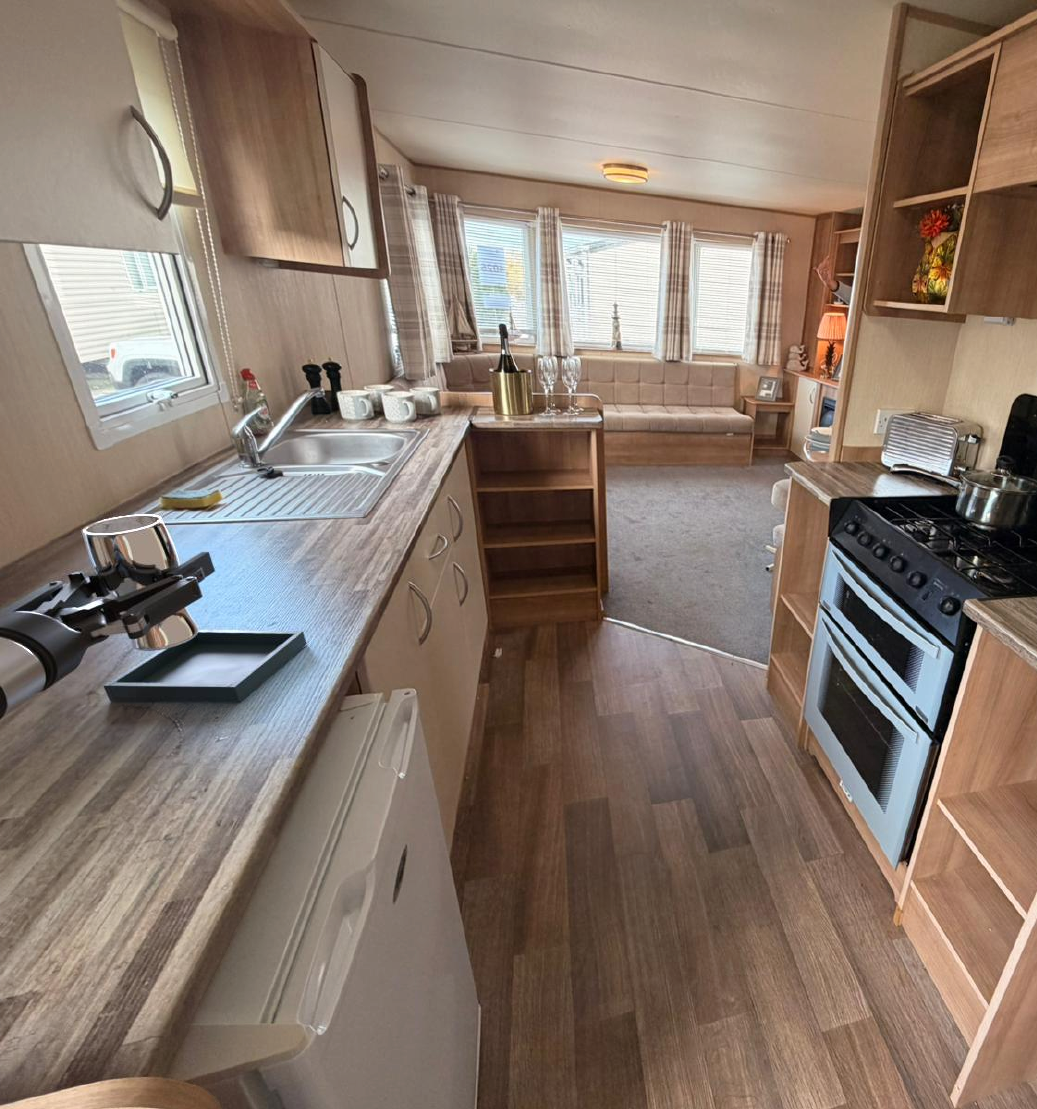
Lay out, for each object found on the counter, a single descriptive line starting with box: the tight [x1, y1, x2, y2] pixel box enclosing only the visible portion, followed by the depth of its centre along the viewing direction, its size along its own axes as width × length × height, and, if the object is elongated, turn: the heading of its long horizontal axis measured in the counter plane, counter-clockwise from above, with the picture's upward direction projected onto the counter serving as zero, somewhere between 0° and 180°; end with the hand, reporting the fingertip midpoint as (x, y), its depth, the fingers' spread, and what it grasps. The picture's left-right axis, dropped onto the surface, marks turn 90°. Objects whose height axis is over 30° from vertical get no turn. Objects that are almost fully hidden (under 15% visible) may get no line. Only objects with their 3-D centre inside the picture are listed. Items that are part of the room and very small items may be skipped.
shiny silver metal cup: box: [81, 514, 200, 652], centre depth 69 cm, size 7×7×15 cm
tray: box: [103, 629, 308, 704], centre depth 85 cm, size 17×15×3 cm
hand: (173, 562), depth 74 cm, fingers closed on shiny silver metal cup, 7 cm apart
